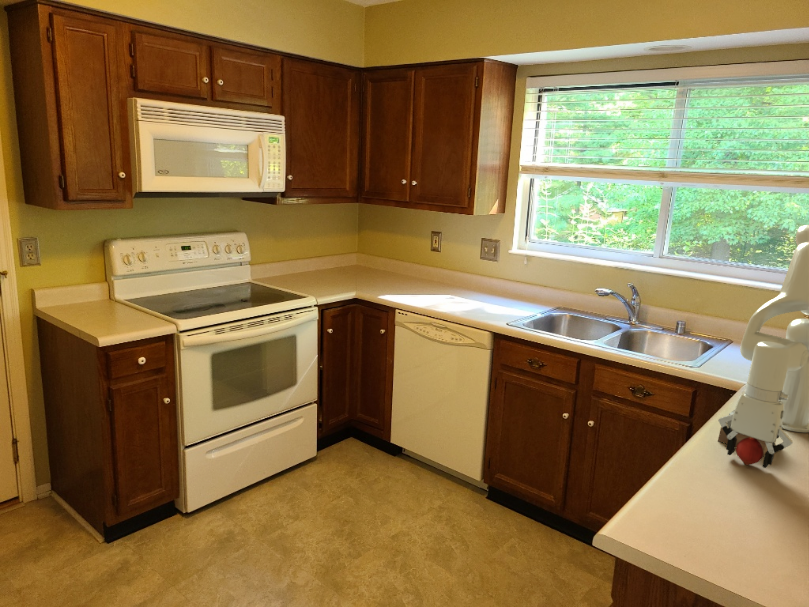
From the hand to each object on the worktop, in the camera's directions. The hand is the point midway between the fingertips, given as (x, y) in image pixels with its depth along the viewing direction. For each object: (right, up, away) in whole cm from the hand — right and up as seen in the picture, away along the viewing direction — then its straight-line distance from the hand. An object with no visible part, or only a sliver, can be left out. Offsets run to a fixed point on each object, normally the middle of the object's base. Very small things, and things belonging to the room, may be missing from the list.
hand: (747, 459), depth 150 cm
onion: (0, -2, 0) cm, 2 cm away
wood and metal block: (+7, +1, +13) cm, 15 cm away
